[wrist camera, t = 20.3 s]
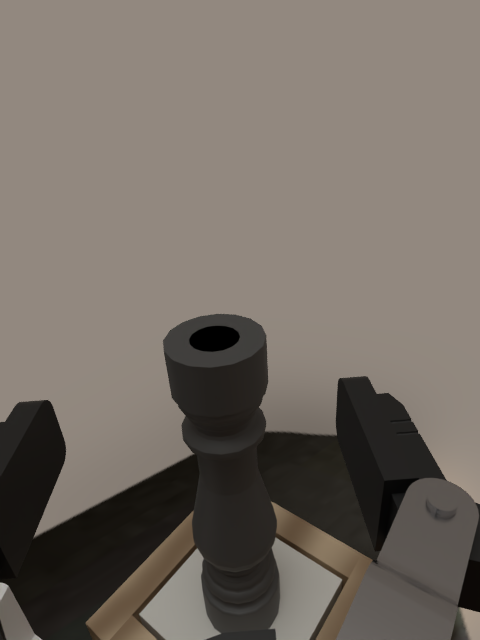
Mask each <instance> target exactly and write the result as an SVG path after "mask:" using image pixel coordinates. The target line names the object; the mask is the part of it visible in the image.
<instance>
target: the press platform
mask: <svg viewBox="0 0 480 640" xmlns="http://www.w3.org/2000/svg"><path fill="white" fill-rule="evenodd" d="M272 550H273V554H274V558H275V560H276V563H277V567H278V571H279V577H280V603H279V611H278V615H277V616H276V618H275V620H274V622H273V624H272V625H271V627H270V628H269V629H275V631H276V640H316V638H317V636H318V634H319V632H320V630H321V628H322V627H323V625H324V623H325V621H326V619H327V617H328V616H329V614H330V612H331V610H332V608H333V606H334V604H335V603H336V601H337V599H338V597H339V595H340V593H341V589H342V579H341V578H339V577H338V576H336V575H334V574H333V573H331V572H330V571H328V570H326V569H325V568H323V567H322V566H320V565H319V564H317V563H315V562H314V561H312V560H311V559H309V558H307V557H306V556H304V555H303V554H301V553H300V552H298V551H296V550H295V549H293V548H292V547H290V546H288V545H287V544H285V543H284V542H282V541H280V540H279V539H277V538H276V537H275V542H274V544H273V546H272ZM203 559H204V558H203V556H202V555H201V553H200V552H199V550H198V548H197V549H196V550H195V551H194V552H193V554H192V555H191V556H190V557H189V558H188V559H187V560H186V562H185V563H184V564H183V565H182V566H181V567H180V568H179V570H178V571H177V572H176V573H175V574H174V575H173V576H172V577H171V579H170V580H169V581H168V582H167V583H166V584H165V585H164V587H163V588H162V589H161V590H160V591H159V592H158V593H157V594H156V596H155V597H154V598H153V599H152V600H151V601H150V602H149V604H148V605H147V606H146V607H145V608H144V609H143V610H142V612H141V613H140V614H139V616H140V619H141V622H142V625H143V626H144V627H145V628H146V629H147V630H148V631H149V632H150V633H151V634H152V635H153V636H154V637H155V638H156V639H157V640H206V639H208V638H211V637H214V636H216V635H219V634H221V633H220V632H218V631H217V630H216V629H214V627H213V625H212V623H211V621H210V620H209V618H208V616H207V613H206V608H205V602H204V597H203V591H202V582H201V574H202V570H203V569H202V562H203Z"/></svg>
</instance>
